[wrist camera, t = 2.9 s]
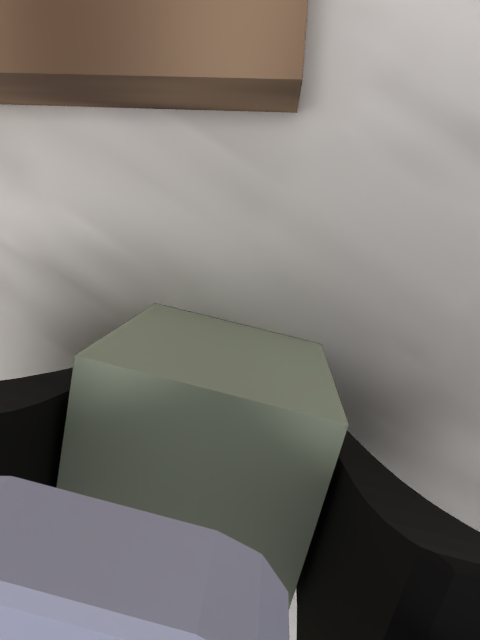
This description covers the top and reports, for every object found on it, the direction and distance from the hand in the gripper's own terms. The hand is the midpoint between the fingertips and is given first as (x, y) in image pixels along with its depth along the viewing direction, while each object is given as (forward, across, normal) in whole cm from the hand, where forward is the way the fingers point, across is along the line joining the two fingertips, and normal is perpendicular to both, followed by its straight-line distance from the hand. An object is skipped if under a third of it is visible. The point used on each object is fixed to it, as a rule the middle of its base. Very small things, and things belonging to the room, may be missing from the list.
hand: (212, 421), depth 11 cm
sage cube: (+1, 0, 0) cm, 1 cm away
